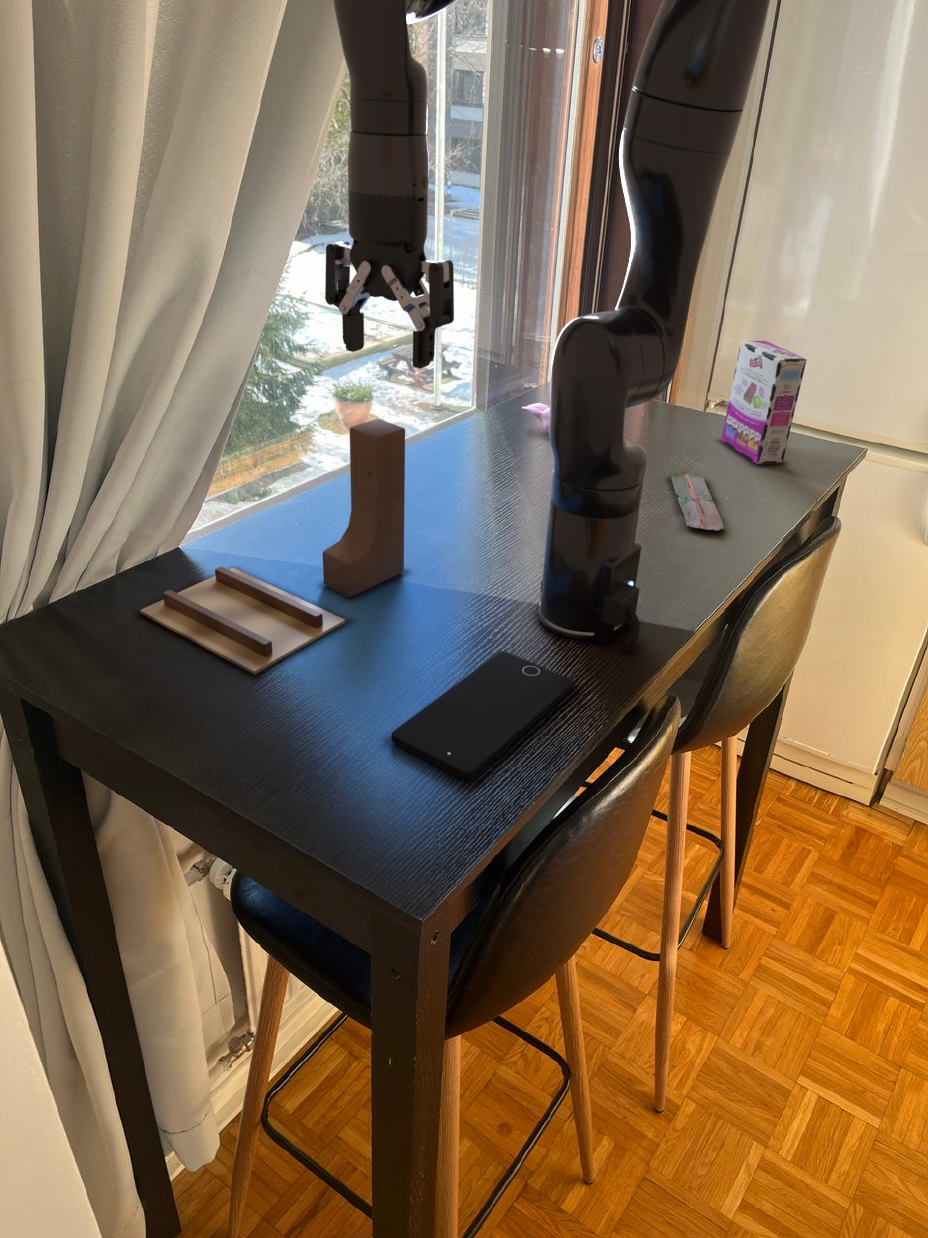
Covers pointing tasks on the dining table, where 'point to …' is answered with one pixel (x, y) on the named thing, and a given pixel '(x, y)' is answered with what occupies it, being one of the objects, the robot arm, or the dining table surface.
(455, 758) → the cell phone
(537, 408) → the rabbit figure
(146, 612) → the guide
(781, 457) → the candy bar box
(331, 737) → the dining table surface
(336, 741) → the dining table surface
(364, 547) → the wooden block
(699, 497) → the map
